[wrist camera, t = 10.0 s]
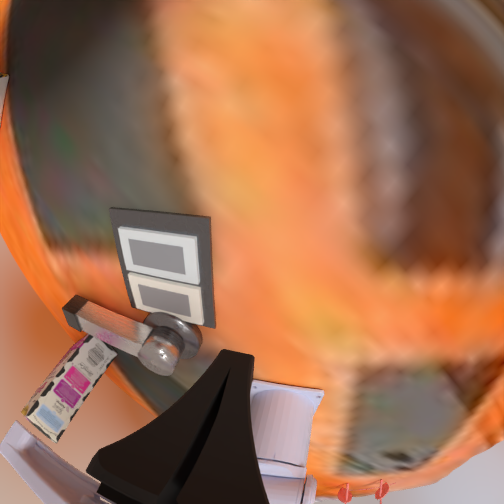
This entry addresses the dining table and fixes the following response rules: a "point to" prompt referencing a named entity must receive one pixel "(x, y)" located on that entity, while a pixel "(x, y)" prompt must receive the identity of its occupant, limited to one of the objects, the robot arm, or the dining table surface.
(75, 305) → the door handle
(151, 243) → the label
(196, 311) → the label
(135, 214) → the plate
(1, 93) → the medicine bottle
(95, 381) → the candy bar box
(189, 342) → the pivot base
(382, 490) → the figurine
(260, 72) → the dining table surface
